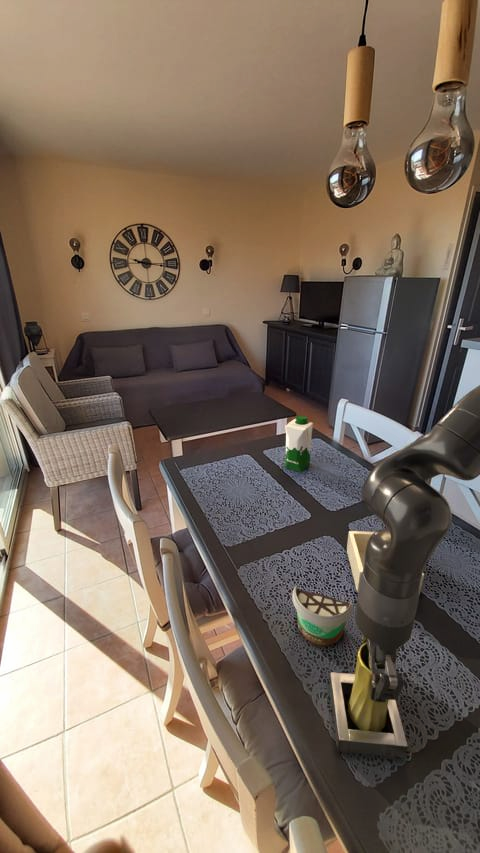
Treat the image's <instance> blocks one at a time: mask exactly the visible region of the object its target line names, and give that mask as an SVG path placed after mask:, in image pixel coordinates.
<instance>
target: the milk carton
mask: <svg viewBox="0 0 480 853" xmlns="http://www.w3.org/2000/svg"><path fill="white" fill-rule="evenodd" d="M295 417H296V418H293V420H291V421H289V422H288V423H287V424H286V425H284V429H285V458H284V459H285V460H284V462H285V463H284V468H286V469H289V470H293V471H296V472H299V473H303V472H304V470H306V469H307V468H308V466H309V465H310V464H311V452H312V451H311V450H312V438H313V437H312V434H313V427H314V422H311V421H308V416H306V415H303V414H299V415H296V416H295Z"/></svg>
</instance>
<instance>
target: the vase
mask: <svg viewBox="0 0 480 853" xmlns="http://www.w3.org/2000/svg"><path fill="white" fill-rule="evenodd" d="M375 663H379V662H377V661H376V660H375ZM354 671H355V672H354V674H355V678H354V683H353V688H352V693H351V694H350V696H349V698H348V702H347V712H348V715H349V717H350V720H351V721H352V722H353V724H354V725H355V726H356V727H357V728H358V730H362V731H373V732H382V730H383V729H385V727H386V713H387V707H388V701H389V700H388V699H386V701H385V703H384V702H375V701H374V700H371V697H370V690H371V684H372V672H371V669H370V667H369V649H368V647H367V642H366V643H364V644H363V643H362V644H361V646H360V647H359V649H358V652H357V659H356V664H355V670H354ZM378 678H380V674H378Z"/></svg>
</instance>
